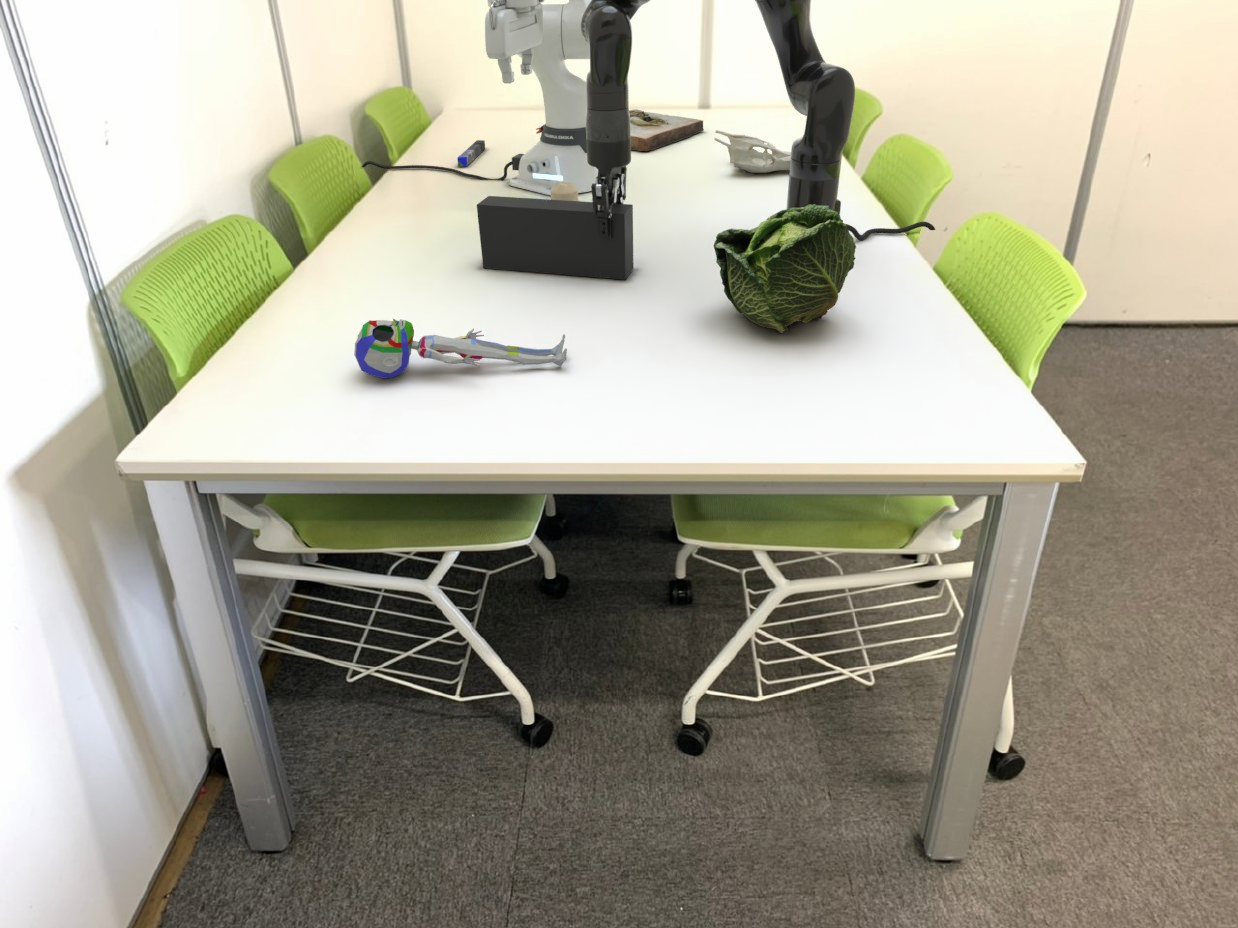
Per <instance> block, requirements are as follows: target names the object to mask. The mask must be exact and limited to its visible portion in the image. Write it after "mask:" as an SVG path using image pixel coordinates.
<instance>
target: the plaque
mask: <svg viewBox="0 0 1238 928" xmlns="http://www.w3.org/2000/svg"><path fill="white" fill-rule="evenodd" d="M629 114H630V123H631V151H640V152H648V151H654V150H656V149H659V148H662V147H663V146H664V147H665V146H667V145H670V144H672V143H676V142H680V141H682V140H684V139H687V138H691V137H692V136H694V135H696V134H698V133H700V132H704V130H705V129H704V120H702V119H698V118H693V117H685V116H679V115H669V114H663V113H659V112H650V111H644V110H642V109H637V108H636V109H635V108H634V109H629Z"/></svg>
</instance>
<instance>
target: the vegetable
mask: <svg viewBox="0 0 1238 928" xmlns="http://www.w3.org/2000/svg"><path fill="white" fill-rule="evenodd" d="M841 220H842V218H841V214H840V215H839V213H838V212H836V211H833V210H831V209H829V206H816V205H815V204H814V205H811V204H809V205H807V206H806V207H801V208H790V209H786V208H785V209H781V210H779V211H777V212H776V213H774V214H772V215H770V216H769V217H767V219H765V220H764V221H762V222H760V223H759V224H758V226H755V227H754V228H750V229H744V228H732V227H731V228H728V229H725V230H723V231H721V232H719V233H718V234H716V236H715V240H714V244H713V248H714V252H715V256H716V261H715V262H716V264H717V265H718V267H719V268H720V270H719V275H720V279H721V281H722V282H721V284H722V285H723V292H724V294H725V296H726V298H727V299H728V301H729V302H730V303H731V304H732V306H733V307H734V309H735V310H736V311H737V312H738V313H739V315H741V314H743V315H744V316H745V317H746V318H747V319H748V320H749V321H751V322H752V323H753V324H756V325H758V326H760V327H763V328H767V329H773V330H776V331H778V332H779V333H781V334H783V333H784V331H790V329H789V328H788V327H789V326H791V325H792V324H793V323H794V322H802V323H806V324H808V323H809V322H810V321H812V320H820V319H822V318H823V316H826V315H827V314H828V311H829V310H831V309H833V308H834V307H835V306H836V304H837V302H838V300H839V293H840V292H841V291H842V289H843V287H844V283H845V281H846V278H847V277H848V274H849V272H850V271H851V270H853V269H854V266H855V262H854V261H855V260H856V259H857V258H856V257H855V254H856V249H857V245H856V243H855V240H854V239H855V237H854V236H853V235H852V234H851V232H850V231H849V228H848V227H847V225H846V224H847V223H845V224H843V223H844V222H843V223H842V222H841Z"/></svg>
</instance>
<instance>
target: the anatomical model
mask: <svg viewBox="0 0 1238 928" xmlns="http://www.w3.org/2000/svg"><path fill="white" fill-rule="evenodd" d="M714 133H715V134H719V135H722V136H725V137H727V138H728V139H729V143H727V142H725V141H723V140H721V139H719V138H716V137H714V141H716V142H717V143H720V144H722V145H723V146H726V147H727V151H728V154H729V164H730V165H731V164H733V165H734V167H735V168H736V169H738V170H741V169H742V170H744V171H747V172H748V173H753V174H763V173H765V174H767V173H771V172H777V171H790V160H791V151H783V150H780V149H778V148H777V147H776V146H775V145H774V144H772V143H770V142H768V141H765V140H763V139H761V138H758V137H754V136H751V135H750V136H749V135H746V134H734V133H729V132H726V131H722V130H715V132H714ZM754 148H762V149H764V151H763V152H761V151H758V150H756V149H754ZM768 150H770V151H771V153H769V152H768Z"/></svg>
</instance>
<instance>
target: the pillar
mask: <svg viewBox="0 0 1238 928" xmlns="http://www.w3.org/2000/svg"><path fill="white" fill-rule="evenodd" d="M485 150H486V141H485V140H481V139H479V140H478V139H477V140H476V141H474V142H473V143H472V144H471V145H470V146H468V147H467V149H465V150H464V151H463V152H462V153H461V154H460V155H459V156H458V157H457V158H456V159H457V167H459V168H462V167H463V168H464V167H468V166H469V165H470V164H471V163H472V162H473V161H474V160H475V159H476V158H477V157H479V156H480V155H481V153H482V152H484V151H485Z"/></svg>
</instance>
